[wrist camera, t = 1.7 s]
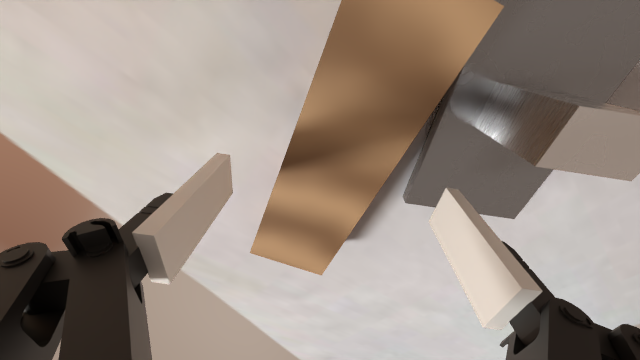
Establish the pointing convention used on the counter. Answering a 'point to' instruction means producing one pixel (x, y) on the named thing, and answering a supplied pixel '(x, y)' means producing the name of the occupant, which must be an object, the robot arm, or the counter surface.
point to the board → (364, 117)
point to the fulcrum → (535, 106)
